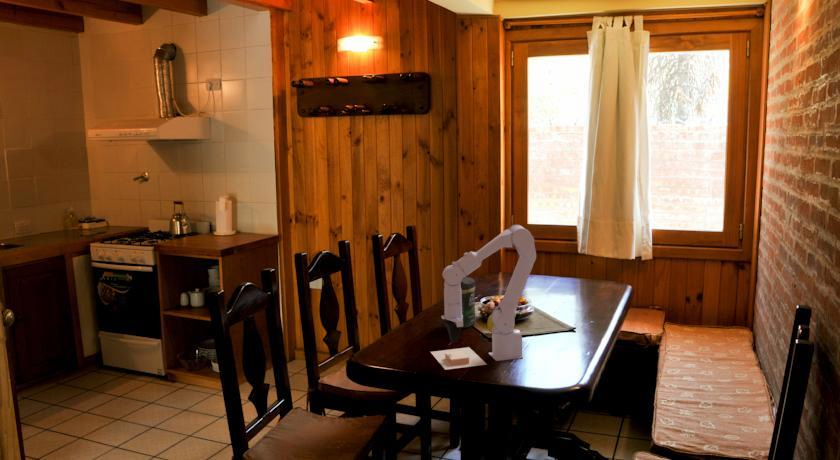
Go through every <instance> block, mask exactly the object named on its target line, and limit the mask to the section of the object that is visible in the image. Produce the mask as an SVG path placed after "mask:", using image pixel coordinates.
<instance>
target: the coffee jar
mask: <svg viewBox="0 0 840 460" xmlns="http://www.w3.org/2000/svg"><path fill="white" fill-rule="evenodd" d="M475 290H476V282H475V279H474V278H473V277H468V276H466V277H463V278H462V281H461V293H462V315H463V319H462V320H463V323H464V324H463V327H462V328H470V327H471V326H473V324H474V325H475V324H476V322H477V320H476V305H475Z"/></svg>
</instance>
